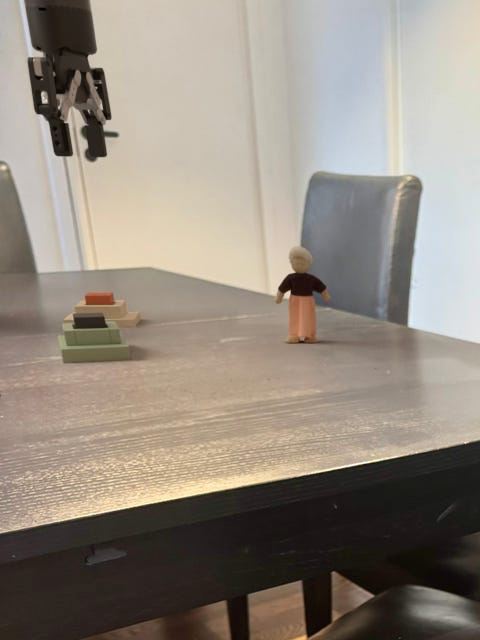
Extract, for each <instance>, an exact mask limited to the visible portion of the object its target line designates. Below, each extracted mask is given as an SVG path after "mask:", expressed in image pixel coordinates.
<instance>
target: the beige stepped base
mask: <svg viewBox="0 0 480 640" xmlns="http://www.w3.org/2000/svg"><path fill="white" fill-rule="evenodd" d="M114 302H115V304H114V305H86V301H85V300H80V301H79V302H78V303H77V304H76V305H74V311H72V312H71V313H69V315H67V316H66V317H65V318H63V320H62V323H74V319H73V314H76V313H103V315H104V317H105V322H111V321H115V323H116V325H117V326H118V328H119V329H120V328H122V329H123V328H136V327H137V325H138V324H139V322H140V321H141V320H142V319H141V313H140V311H128V308H127V301H126V300H114Z"/></svg>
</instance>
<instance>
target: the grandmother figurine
mask: <svg viewBox="0 0 480 640" xmlns="http://www.w3.org/2000/svg"><path fill="white" fill-rule="evenodd" d="M288 260H289V264H290V266H291V269H292V270H293V272H292V273H288V274H287V275H285V277H284V278H283V279H282V281H281V282H280V284H279V286H278V287H277V291H276V295H275V297H274V302H275V304H277V305H279V304H281V303H282V302H283V298H284V297H285V294H286V293H288V292H289V293H290V295H289V297H288V335H289V336H287V337H286V340H285V342H286V343H289V344H296V343H300V342H301V339H300V338H303V342H304V343H307V344H309V343H311V344H312V343H313V344H316V343H319V340H318V339H317V337H316V335H317V312H316V311H317V310H316V300H315V296H314V292H315V293H317V294H320V296H321V297H322V300H323V301H324V303H330V302H331V295H330V294H329V292H328V289H327V285H326V284H325V283H324V282H323V281H322V279H320V278H319V277H317V276H315V275H314V274H312V273H307V272H309V270H310V267H311V266H312V264H313V261H314V258H313V256H312V255H311V253H310V251H309V250H307V248H306V247H303V246H301V245H296V246H292V247H291V248H290V250H289V252H288Z"/></svg>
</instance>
